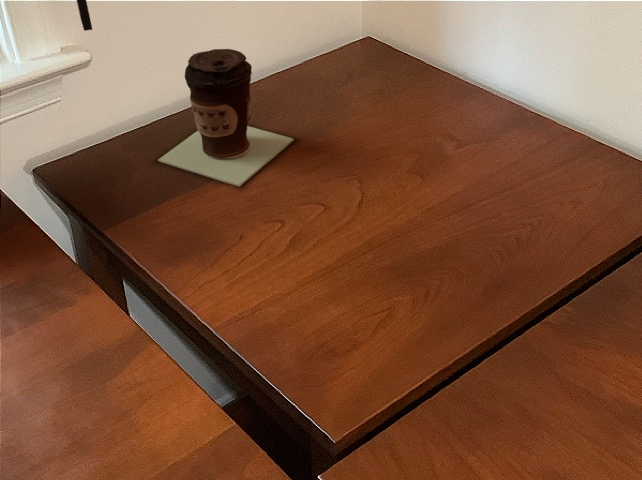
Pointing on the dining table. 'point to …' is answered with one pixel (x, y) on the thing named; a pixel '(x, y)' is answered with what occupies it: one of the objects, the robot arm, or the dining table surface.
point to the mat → (228, 169)
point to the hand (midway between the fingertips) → (10, 36)
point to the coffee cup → (221, 100)
